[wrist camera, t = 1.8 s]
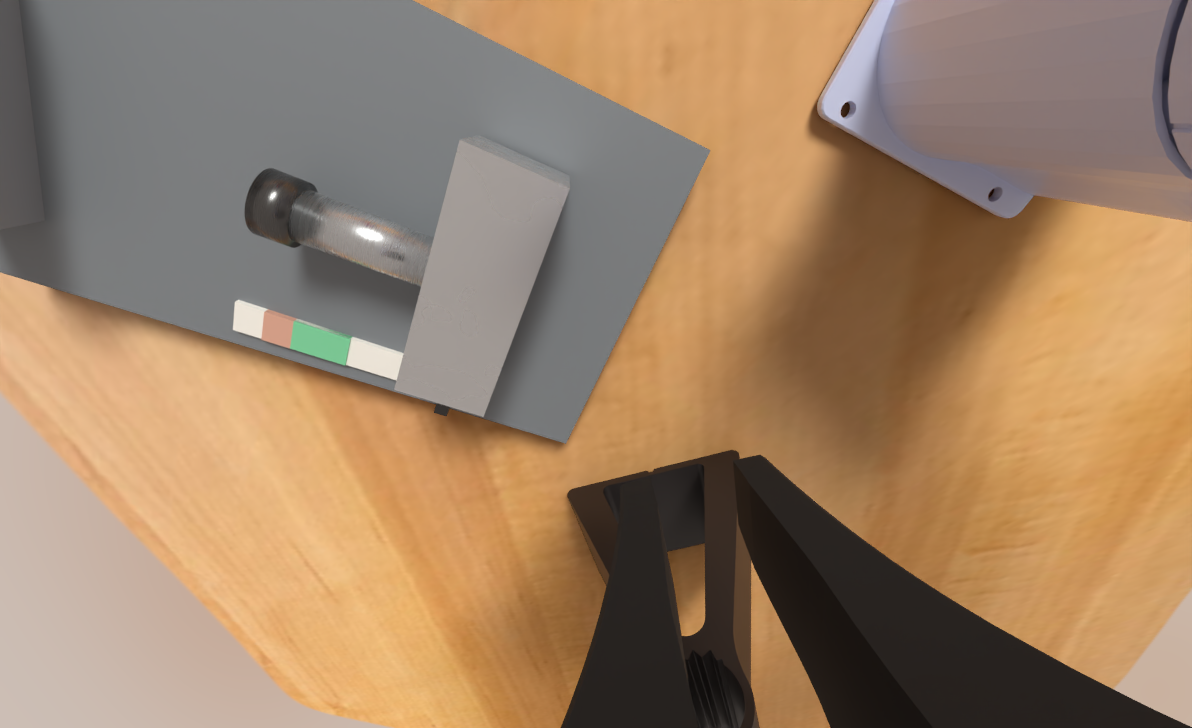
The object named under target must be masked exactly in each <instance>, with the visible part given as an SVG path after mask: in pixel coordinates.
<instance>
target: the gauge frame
mask: <svg viewBox="0 0 1192 728" xmlns="http://www.w3.org/2000/svg"><path fill="white" fill-rule="evenodd" d="M479 135H480V136H483V137H485V138H487V139H489V140H492V141H494V142H496V143H498V144H500V145H503V146H505V147H507V148H509V149H512V150H514V151H516V152H518V153H520V154H523V155H525V156H527V157H529V158H531V159H534V160H536V161H538V162H540V163H543V164H545V165H547V166H549V167H551V168H554V169H556V170H558V171H560V172H563V173H565V174H567V175H569V176H570V189H569V192H568V195H567V197H566V200H565V203H564V205H563V208H562V211H561V213H560V216H559V219H558V221H557V224H556V227H555V229H554V232H553V234H552V237H551V240H550V242H549V245H548V248H547V250H546V253H545V256H544V258H543V261H542V264H541V266H540V269H539V271H538V274H537V277H536V279H535V282H534V285H533V287H532V290H531V293H530V295H529V298H528V301H527V303H526V306H525V308H524V311H523V314H522V316H521V319H520V322H519V324H518V327H517V330H516V332H515V335H514V338H513V340H512V343H511V345H510V348H509V351H508V353H507V356H506V359H505V361H504V364H503V367H502V369H501V372H500V375H499V377H498V380H497V382H496V385H495V388H494V390H493V393H492V396H491V398H490V401H489V404H488V406H487V409H486V412H485V414H484V417H482V416H478V415H475V414H472V413H468V412H465V411H462V410H459V409H455V408H452V407H450V409H453V410H457V411H460V412H463V413H466V414H470V415H473V416H476V417H480V418H483V419H486V420H490V421H493V422H496V423H499V424H503V425H506V426H509V427H513V428H516V429H519V430H523V431H526V432H529V433H532V434H536V435H539V436H542V437H546V438H549V439H552V440H556V441H559V442H562V443H565V444H566V442H567V440H568V438H569V436H570V434H571V432H572V430H573V428H574V426H575V424H576V422H577V420H578V418H579V416H580V414H581V412H582V410H583V408H584V406H585V404H586V402H587V400H588V398H589V396H590V394H591V392H592V390H593V388H594V386H595V384H596V382H597V380H598V378H599V375H600V373H601V371H602V369H603V367H604V365H605V363H606V361H607V359H608V357H609V355H610V353H611V351H612V349H613V347H614V345H615V343H616V341H617V339H618V337H619V335H620V333H621V331H622V329H623V327H624V325H625V323H626V321H627V319H628V317H629V315H630V313H631V311H632V309H633V307H634V304H635V302H636V300H637V298H638V296H639V294H640V292H641V290H642V288H643V286H644V284H645V282H646V280H647V278H648V276H649V274H650V272H651V270H652V268H653V266H654V264H655V262H656V260H657V258H658V256H659V254H660V252H661V250H662V248H663V246H664V244H665V242H666V240H667V238H668V236H669V233H670V231H671V229H672V227H673V225H674V223H675V221H676V219H677V217H678V215H679V213H680V211H681V209H682V207H683V205H684V203H685V201H686V199H687V197H688V195H689V193H690V191H691V189H692V187H693V185H694V183H695V181H696V179H697V177H698V175H699V173H700V171H701V169H702V167H703V165H704V162H705V160H706V158H707V156H708V154H709V152H710V150H709V149H707V148H705V147H703V146H701V145H699V144H697V143H695V142H693V141H691V140H689V139H687V138H685V137H683V136H681V135H679V134H677V133H675V132H673V131H671V130H669V129H667V128H665V127H663V126H661V125H659V124H657V123H655V122H653V121H651V120H649V119H647V118H645V117H643V116H641V115H639V114H637V113H635V112H633V111H631V110H629V109H627V108H625V107H623V106H621V105H619V104H617V103H615V102H613V101H611V100H609V99H607V98H605V97H603V96H602V95H600V94H598V93H596V92H594V91H592V90H590V89H588V88H586V87H584V86H582V85H580V84H578V83H576V82H574V81H572V80H570V79H568V78H566V77H564V76H562V75H560V74H558V73H556V72H554V71H552V70H550V69H548V68H546V67H544V66H542V65H540V64H538V63H536V62H534V61H532V60H530V59H528V58H526V57H524V56H522V55H520V54H518V53H516V52H514V51H512V50H510V49H508V48H506V47H504V46H502V45H500V44H498V43H496V42H494V41H492V40H490V39H488V38H486V37H484V36H482V35H480V34H478V33H476V32H474V31H472V30H470V29H468V28H466V27H464V26H462V25H460V24H458V23H456V22H454V21H453V20H451V19H449V18H447V17H445V16H443V15H441V14H439V13H437V12H435V11H433V10H431V9H429V8H427V7H425V6H423V5H421V4H419V3H417V2H415V1H413V0H0V272H1V273H4V274H8V275H11V276H14V277H18V278H21V279H24V280H28V281H31V282H34V283H37V284H41V285H44V286H47V287H51V288H54V289H57V290H61V291H64V292H67V293H70V294H74V295H77V296H80V297H84V298H87V299H90V300H94V301H97V302H100V303H103V304H107V305H110V306H113V307H117V308H120V309H123V310H127V311H130V312H133V313H136V314H140V315H143V316H146V317H150V318H153V319H156V320H160V321H163V322H166V323H169V324H173V325H176V326H179V327H183V328H186V329H189V330H193V331H196V332H199V333H202V334H206V335H209V336H212V337H216V338H219V339H222V340H226V341H229V342H232V343H235V344H239V345H242V346H245V347H249V348H252V349H255V350H259V351H262V352H265V353H268V354H272V355H275V356H278V357H282V358H285V359H288V360H292V361H295V362H298V363H301V364H305V365H308V366H311V367H315V368H318V369H321V370H325V371H328V372H331V373H334V374H338V375H341V376H344V377H348V378H351V379H354V380H358V381H361V382H364V383H367V384H371V385H374V386H377V387H381V388H384V389H387V390H391V391H394V392H397V393H400V394H404V395H407V396H410V397H414V398H417V399H420V400H424V401H427V402H430V403H433V404H437V403H435V402H432V401H429V400H426V399H422V398H419V397H416V396H412V395H409V394H406V393H403V392H399V391H396V390H394V388H395V384H396V381H397V377H398V373H399V369H400V365H401V362H402V358H403V354H404V350H405V346H406V343H407V339H408V335H409V331H410V327H411V323H412V320H413V316H414V312H415V308H416V304H417V301H418V297H419V293H420V289H421V287H419V286H417V285H414V284H411V283H408V282H406V281H403V280H400V279H397V278H394V277H392V276H389V275H386V274H383V273H381V272H378V271H375V270H372V269H370V268H367V267H364V266H361V265H358V264H356V263H353V262H350V261H347V260H345V259H342V258H339V257H336V256H333V255H331V254H328V253H325V252H322V251H320V250H317V249H314V248H311V247H308V246H306V245H303V244H302V245H300V246H299V247H296V248H292V247H289V246H286V245H283V244H280V243H277V242H275V241H272V240H269V239H266V238H263V237H261V236H258V235H255V234H253V233H252V232H250V230H249V229H248V227H247V225H246V221H245V213H244V212H245V202H246V197H247V194H248V191H249V189H250V186H251V184H252V183H253V181H254V179H255V178H256V177H257V176H258V175H259V174H260V173H261V172H262V171H263V170H265V169H268V168H274V169H277V170H279V171H282V172H284V173H287V174H289V175H292V176H294V177H297V178H300V179H302V180H305V181H307V182H310V183H312V184H313V185H315V187H316V189H317V191H318V193H319V194H322V195H324V196H327V197H330V198H332V199H335V200H337V201H340V202H342V203H345V204H348V205H350V206H353V207H355V208H358V209H361V210H363V211H366V212H368V213H371V214H373V215H376V216H379V217H381V218H384V219H386V220H389V221H391V222H394V223H397V224H399V225H402V226H404V227H407V228H410V229H412V230H415V231H417V232H420V233H422V234H425V235H428V236H430V237H433V238H434V236H435V232H436V228H437V224H438V221H439V217H440V213H441V209H442V205H443V202H444V198H445V194H446V190H447V186H448V183H449V179H450V175H451V171H452V167H453V163H454V160H455V156H456V152H457V148H458V144H459V141H460V139H465V138H469V137H474V136H479Z"/></svg>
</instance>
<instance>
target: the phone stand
mask: <svg viewBox="0 0 1192 728" xmlns="http://www.w3.org/2000/svg"><path fill="white" fill-rule="evenodd" d="M738 459H740V457H739V453H738V452H737V451H734V450H730V451H726V452H722V453H718V454H713V455H709V456H705V457H701V458H697V459H693V460H689V461H685V462H681V463H677V464H673V465H668V466H664V467H660V468H656V469H654V471H653V472H648V471H644V472H640V473H636V474H632V475H627V476H623V477H619V478H615V479H611V480H607V481H603V482H599V483H595V484H591V485H587V486H582V487H578V488H574V489H572V490H570V491H569V492H568V498H569V501H570V503H571V506H572V508H573V510H574V513H575V515H576V518H577V520H578V523H579V525H580V527H581V530H582V532H583V535H584V537H585V539H586V542H587V544H588V547H589V549H590V551H591V554H592V556H593V559H594V561H595V563H596V566H597V568H598V570H599V572H600V574H601V576H602V578H603V580H604V582H605V584H606V586H607V583H608V579H609V575H610V570H611V565H612V559H613V554H614V548H615V543H616V537H617V529H618V522H619V511H620V487H621V486H622V485H623V484H624V483H629V482H633V481H638V480H643V479H648V478H650V479H651V482H652V486H653V489H654V493H655V497H656V500H657V505H658V510H659V514H660V519H661V524H662V529H663V534H664V539H665V544H666V549H667V552H668V551H672V550H677V549H681V548H685V547H690V546H694V545H698V544H703V543H705V622H704V625H703V627H702V628H701V629H700V631H698V632H697V633H696V634H694V635H691V636H682V643H683V650H684V656H685V663H686V669H687V676H688V683H689V689H690V693H691V697H692V702H693V706H694V710H695V715H696V719H697V723H698V727H699V728H760V727H759V722H758V717H757V712H756V707H755V702H754V697H753V693H752V689H751V557H750V555H749V552H748V550H747V547H746V544H745V541H744V539H743V536H742V533H741V531H740V528H739V525H738V514H737V502H736V491H735V480H734V468H733V460H738Z"/></svg>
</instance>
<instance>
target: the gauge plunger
mask: <svg viewBox="0 0 1192 728" xmlns="http://www.w3.org/2000/svg"><path fill="white" fill-rule="evenodd" d="M569 189H570V176H569V175H567V174H565V173H563V172H560V171H558V170H556V169H554V168H551V167H549V166H547V165H545V164H543V163H540V162H538V161H536V160H534V159H531V158H529V157H527V156H525V155H523V154H520V153H518V152H516V151H514V150H512V149H509V148H507V147H505V146H503V145H500V144H498V143H496V142H494V141H492V140H489V139H487V138H485V137H483V136H480V135H479V136H474V137H469V138H465V139H460V141H459V144H458V148H457V152H456V156H455V160H454V163H453V167H452V171H451V175H450V179H449V183H448V186H447V190H446V194H445V198H444V202H443V205H442V209H441V213H440V217H439V221H438V224H437V228H436V232H435V236H434V238H433V237H430V236H428V235H425V234H422V233H420V232H417V231H415V230H412V229H410V228H407V227H404V226H402V225H399V224H397V223H394V222H391V221H389V220H386V219H384V218H381V217H379V216H376V215H373V214H371V213H368V212H366V211H363V210H361V209H358V208H355V207H353V206H350V205H348V204H345V203H342V202H340V201H337V200H335V199H332V198H330V197H327V196H324V195H322V194H319V193H318V191H317V189H316V187H315V185H313V184H312V183H310V182H307V181H305V180H302V179H300V178H297V177H294V176H292V175H289V174H287V173H284V172H282V171H279V170H277V169H274V168H268V169H265V170H263V171H262V172H261V173H260V174H259V175H258V176H257V177H256V178H255V179H254V181H253V183H252V184H251V186H250V189H249V191H248V194H247V197H246V202H245V212H244V213H245V221H246V225H247V227H248V229H249V230H250V232H252V233H253V234H255V235H258V236H261V237H263V238H266V239H269V240H272V241H275V242H277V243H280V244H283V245H286V246H289V247H292V248H296V247H299V246H300V245H302V244H303V245H306V246H308V247H311V248H314V249H317V250H320V251H322V252H325V253H328V254H331V255H333V256H336V257H339V258H342V259H345V260H347V261H350V262H353V263H356V264H358V265H361V266H364V267H367V268H370V269H372V270H375V271H378V272H381V273H383V274H386V275H389V276H392V277H394V278H397V279H400V280H403V281H406V282H408V283H411V284H414V285H417V286H419V287H421V289H420V293H419V297H418V301H417V304H416V308H415V312H414V316H413V320H412V323H411V327H410V331H409V335H408V339H407V343H406V346H405V350H404V354H403V358H402V362H401V365H400V369H399V373H398V377H397V381H396V384H395V388H394V390H396V391H399V392H403V393H406V394H409V395H412V396H416V397H419V398H422V399H426V400H429V401H432V402H435V403H437V404H436V407H435V411H434V413H437V414H440V415H444V416H447V414H448V411H449V409H450V407H452V408H455V409H459V410H462V411H465V412H468V413H472V414H475V415H478V416H482V417H484V414H485V412H486V409H487V406H488V404H489V401H490V398H491V396H492V393H493V390H494V388H495V385H496V382H497V380H498V377H499V375H500V372H501V369H502V367H503V364H504V361H505V359H506V356H507V353H508V351H509V348H510V345H511V343H512V340H513V338H514V335H515V332H516V330H517V327H518V324H519V322H520V319H521V316H522V314H523V311H524V308H525V306H526V303H527V301H528V298H529V295H530V293H531V290H532V287H533V285H534V282H535V279H536V277H537V274H538V271H539V269H540V266H541V264H542V261H543V258H544V256H545V253H546V250H547V248H548V245H549V242H550V240H551V237H552V234H553V232H554V229H555V227H556V224H557V221H558V219H559V216H560V213H561V211H562V208H563V205H564V203H565V200H566V197H567V195H568V192H569Z"/></svg>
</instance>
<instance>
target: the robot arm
mask: <svg viewBox="0 0 1192 728" xmlns="http://www.w3.org/2000/svg"><path fill="white" fill-rule="evenodd" d="M846 102H848V104H849V105H850V110H849V113H848V115H847V116H846V117H844V118H843V117H842V116H841V108H842V106H843V105H844V104H845V103H846ZM817 111H818V114H819V116H820V117H821V118H823V119H824V120H826V121H828V122H830V123H831V124H833V125H835V126H837V127H838V128H840V129H842V130H844V131H846V132H847V133H849V134H851V135H853V136H855V137H856V138H858V139H860V140H862V141H864V142H865V143H867V144H869V145H871V146H872V147H874V148H876V149H878V150H880V151H881V152H883V153H885V154H887V155H889V156H890V157H892V158H894V159H896V160H897V161H899V162H901V163H903V164H905V165H906V166H908V167H910V168H912V169H914V170H915V171H917V172H919V173H921V174H922V175H924V176H926V177H928V178H930V179H931V180H933V181H935V182H937V183H939V184H940V185H942V186H944V187H946V188H948V189H949V190H951V191H953V192H955V193H956V194H958V195H960V196H962V197H964V198H965V199H967V200H969V201H971V202H973V203H974V204H976V205H978V206H980V207H981V208H983V209H985V210H987V211H989V212H990V213H992V214H994V215H996V216H999V217H1003V218H1012V217H1014V216H1016V215H1018V214H1019V213H1020V212H1021V211H1022V210H1023V209H1024V207H1025V206H1026V205H1027V204H1028V202H1029V201H1030V200H1031V199H1032V198H1033V196H1034V195H1036V196H1042V197H1048V198H1053V199H1059V200H1065V201H1071V202H1077V203H1083V204H1089V205H1095V206H1101V207H1107V208H1113V209H1118V210H1124V211H1130V212H1136V213H1142V214H1148V215H1154V216H1160V217H1166V218H1172V219H1178V220H1183V221H1189V222H1192V0H874V2H873V4H872V5H871V7H870V9H869V11H868V12H867V14H866V16H865V18H864V19H863V21H862V23H861V25H860V27H859V28H858V30H857V32H856V34H855V35H854V37H853V39H852V41H851V42H850V44H849V46H848V48H847V50H846V51H845V53H844V55H843V57H842V58H841V60H840V62H839V64H838V66H837V67H836V69H835V71H834V73H833V74H832V76H831V78H830V80H829V81H828V83H827V85H826V87H825V89H824V90H823V92H822V94H821V96H820V98H819V100H818V103H817ZM993 188H994V193H993V194H992V196H991V197H990V198H989V199H988V195H989V193H990V191H991V190H992V189H993ZM733 468H734V480H735V491H736V502H737V514H738V525H739V528H740V531H741V533H742V536H743V539H744V541H745V544H746V547H747V550H748V552H749V555H750V557H751V560H752V563H753V565H754V568H755V570H756V572H757V574H758V576H759V578H760V580H761V582H762V584H763V586H764V588H765V590H766V592H767V594H768V596H769V598H770V601H771V603H772V605H773V607H774V609H775V610H776V612H777V614H778V616H779V618H780V620H781V622H782V624H783V626H784V628H785V630H786V632H787V634H788V636H789V638H790V640H791V642H792V644H793V646H794V648H795V650H796V652H797V654H798V656H799V658H800V660H801V662H802V664H803V666H804V668H805V670H806V672H807V674H808V676H809V678H810V681H811V683H812V685H813V687H814V689H815V691H816V694H817V696H818V698H819V700H820V703H821V705H822V707H823V710H824V712H825V715H826V717H827V720H828V722H829V725H830V727H831V728H1192V727H1190V726H1188V725H1185V724H1183V723H1181V722H1179V721H1177V720H1175V719H1173V718H1170V717H1168V716H1166V715H1164V714H1162V713H1160V712H1158V711H1155V710H1153V709H1151V708H1149V707H1147V706H1145V705H1143V704H1141V703H1139V702H1137V701H1135V700H1133V699H1131V698H1129V697H1127V696H1125V695H1123V694H1121V693H1119V692H1117V691H1115V690H1113V689H1111V688H1109V687H1107V686H1105V685H1103V684H1102V683H1100V682H1098V681H1096V680H1094V679H1092V678H1090V677H1088V676H1086V675H1084V674H1082V673H1080V672H1078V671H1076V670H1074V669H1072V668H1070V667H1069V666H1067V665H1065V664H1063V663H1061V662H1060V661H1058V660H1056V659H1054V658H1052V657H1050V656H1049V655H1047V654H1045V653H1043V652H1041V651H1040V650H1038V649H1036V648H1034V647H1032V646H1031V645H1029V644H1027V643H1025V642H1023V641H1021V640H1020V639H1018V638H1016V637H1014V636H1012V635H1011V634H1009V633H1007V632H1005V631H1003V630H1002V629H1000V628H998V627H996V626H994V625H993V624H991V623H989V622H987V621H986V620H984V619H983V618H981V617H979V616H978V615H976V614H974V613H973V612H971V611H969V610H968V609H966V608H964V607H963V606H961V605H959V604H958V603H956V602H954V601H953V600H951V599H950V598H948V597H946V596H945V595H943V594H942V593H940V592H939V591H937V590H935V589H934V588H932V587H931V586H929V585H928V584H926V583H925V582H923V581H921V580H920V579H918V578H917V577H915V576H914V575H912V574H911V573H909V572H908V571H906V570H905V569H904V568H902V567H901V566H899V565H898V564H896V563H895V562H893V561H892V560H891V559H889V558H888V557H886V556H885V555H884V554H882V553H881V552H879V551H878V550H877V549H875V548H874V547H873V546H871V545H870V544H868V543H867V542H866V541H864V540H863V539H862V538H860V537H859V536H858V535H856V534H855V533H854V532H852V531H851V530H850V529H848V528H847V527H846V526H845V525H843V524H842V523H841V522H840V521H838V520H837V519H836V518H835V517H833V516H832V515H831V514H829V513H828V512H827V511H826V510H824V509H823V508H822V507H821V506H819V505H818V504H817V503H816V502H815V501H813V500H812V499H811V498H810V497H809V496H807V495H806V494H805V493H804V492H803V491H802V490H800V489H799V488H798V487H797V486H796V485H795V484H793V483H792V482H791V481H790V480H789V479H788V478H787V477H786V476H784V475H783V474H782V473H781V472H780V471H779V470H778V469H777V468H776V467H774V466H773V465H772V464H771V463H770V462H769V461H768V460H767V459H766V458H764V457H763V456H761V455H757V456H752V457H747V458H743V459H738V460H733ZM561 728H699V727H698V723H697V719H696V715H695V710H694V706H693V702H692V697H691V693H690V689H689V683H688V676H687V669H686V663H685V656H684V650H683V643H682V636H681V630H680V623H679V616H678V610H677V603H676V597H675V590H674V584H673V579H672V574H671V569H670V564H669V559H668V554H667V549H666V544H665V539H664V534H663V529H662V524H661V519H660V514H659V510H658V505H657V500H656V497H655V493H654V489H653V486H652V482H651V479H650V478H648V479H643V480H638V481H633V482H629V483H624V484H623V485H622V486H621V487H620V511H619V522H618V529H617V537H616V543H615V548H614V554H613V559H612V565H611V570H610V575H609V579H608V583H607V587H606V591H605V595H604V599H603V603H602V607H601V611H600V615H599V619H598V622H597V626H596V629H595V633H594V636H593V639H592V642H591V646H590V649H589V652H588V655H587V658H586V661H585V664H584V667H583V670H582V673H581V675H580V678H579V681H578V684H577V686H576V689H575V692H574V695H573V697H572V700H571V703H570V706H569V708H568V711H567V713H566V716H565V718H564V721H563V724H562V726H561Z"/></svg>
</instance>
